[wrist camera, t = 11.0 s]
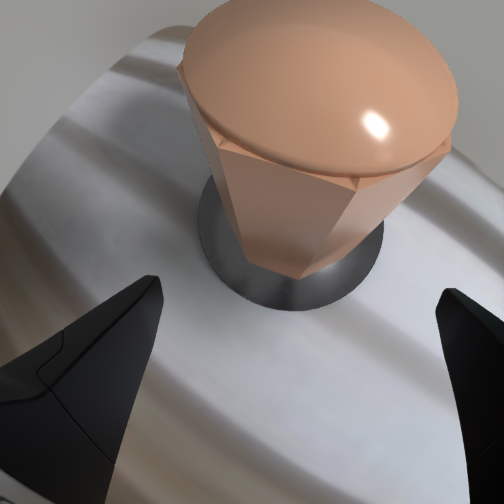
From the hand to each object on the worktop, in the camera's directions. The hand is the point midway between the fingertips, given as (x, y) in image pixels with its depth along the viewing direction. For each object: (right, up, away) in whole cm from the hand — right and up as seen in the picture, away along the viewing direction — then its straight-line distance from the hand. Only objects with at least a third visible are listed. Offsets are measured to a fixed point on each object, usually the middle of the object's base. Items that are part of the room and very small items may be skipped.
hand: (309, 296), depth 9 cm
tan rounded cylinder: (+1, +3, +9) cm, 10 cm away
